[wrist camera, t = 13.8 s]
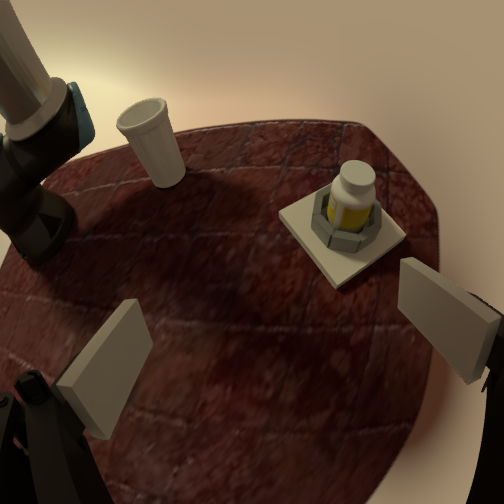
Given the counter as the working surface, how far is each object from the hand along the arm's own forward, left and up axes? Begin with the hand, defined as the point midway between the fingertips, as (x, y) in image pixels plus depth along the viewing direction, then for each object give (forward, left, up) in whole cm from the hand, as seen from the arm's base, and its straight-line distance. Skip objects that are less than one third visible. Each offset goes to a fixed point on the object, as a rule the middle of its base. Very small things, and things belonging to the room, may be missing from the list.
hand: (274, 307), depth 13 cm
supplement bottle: (-10, +17, -19) cm, 27 cm away
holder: (-10, +17, -20) cm, 28 cm away
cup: (-35, 0, -20) cm, 40 cm away
